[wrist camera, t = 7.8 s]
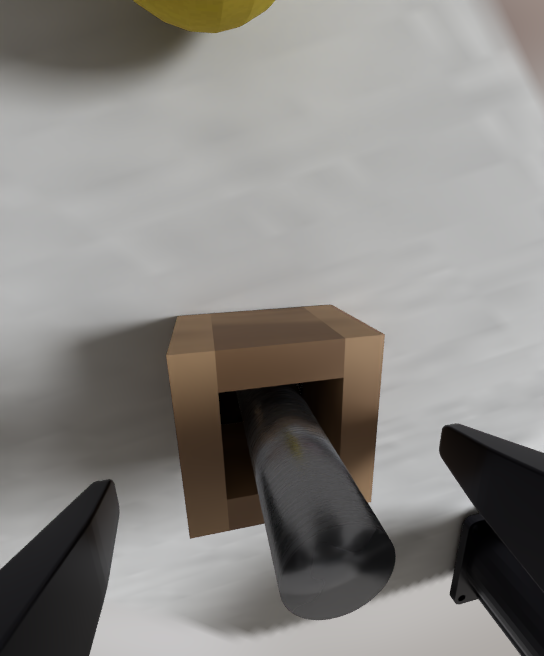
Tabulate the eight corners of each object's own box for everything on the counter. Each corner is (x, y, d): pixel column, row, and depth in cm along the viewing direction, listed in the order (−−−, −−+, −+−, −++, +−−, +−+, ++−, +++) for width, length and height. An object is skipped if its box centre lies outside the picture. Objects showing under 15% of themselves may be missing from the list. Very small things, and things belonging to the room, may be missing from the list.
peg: (287, 400, 14) (390, 603, 6) (236, 407, 13) (280, 632, 6) (286, 352, 13) (400, 513, 6) (233, 358, 13) (278, 541, 5)
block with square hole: (327, 432, 15) (370, 501, 11) (193, 453, 14) (190, 538, 10) (331, 304, 13) (384, 334, 9) (177, 316, 12) (166, 355, 8)
